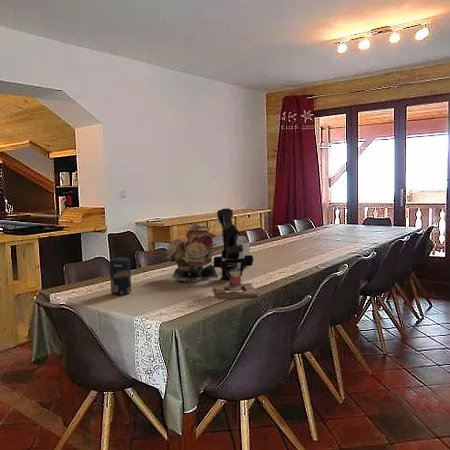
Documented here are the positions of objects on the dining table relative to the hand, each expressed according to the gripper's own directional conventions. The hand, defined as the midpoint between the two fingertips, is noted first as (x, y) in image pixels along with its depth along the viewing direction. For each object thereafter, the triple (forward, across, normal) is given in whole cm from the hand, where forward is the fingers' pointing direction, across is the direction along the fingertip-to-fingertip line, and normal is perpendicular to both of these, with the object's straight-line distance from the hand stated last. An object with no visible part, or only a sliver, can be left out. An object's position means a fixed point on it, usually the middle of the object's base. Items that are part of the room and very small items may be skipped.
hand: (235, 276), depth 206 cm
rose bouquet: (-19, -18, +31) cm, 41 cm away
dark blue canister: (-2, -54, +13) cm, 55 cm away
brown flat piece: (+5, 0, +7) cm, 8 cm away
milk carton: (-35, +11, +47) cm, 59 cm away
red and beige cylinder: (+4, 0, +6) cm, 7 cm away
